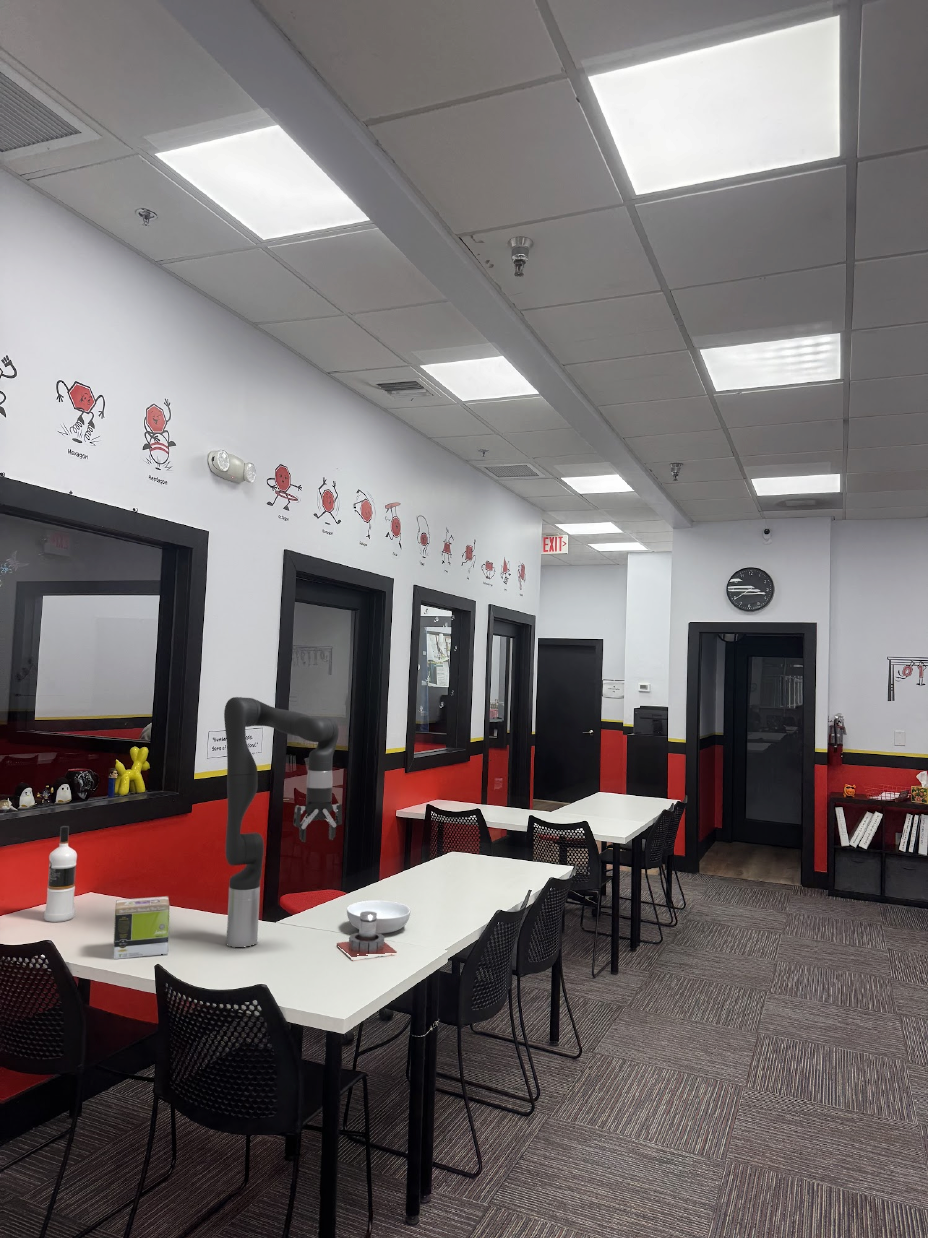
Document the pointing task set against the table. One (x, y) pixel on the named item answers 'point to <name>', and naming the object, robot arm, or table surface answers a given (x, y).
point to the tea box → (141, 927)
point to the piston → (367, 926)
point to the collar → (365, 946)
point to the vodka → (61, 881)
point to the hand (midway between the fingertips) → (317, 840)
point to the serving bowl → (380, 914)
